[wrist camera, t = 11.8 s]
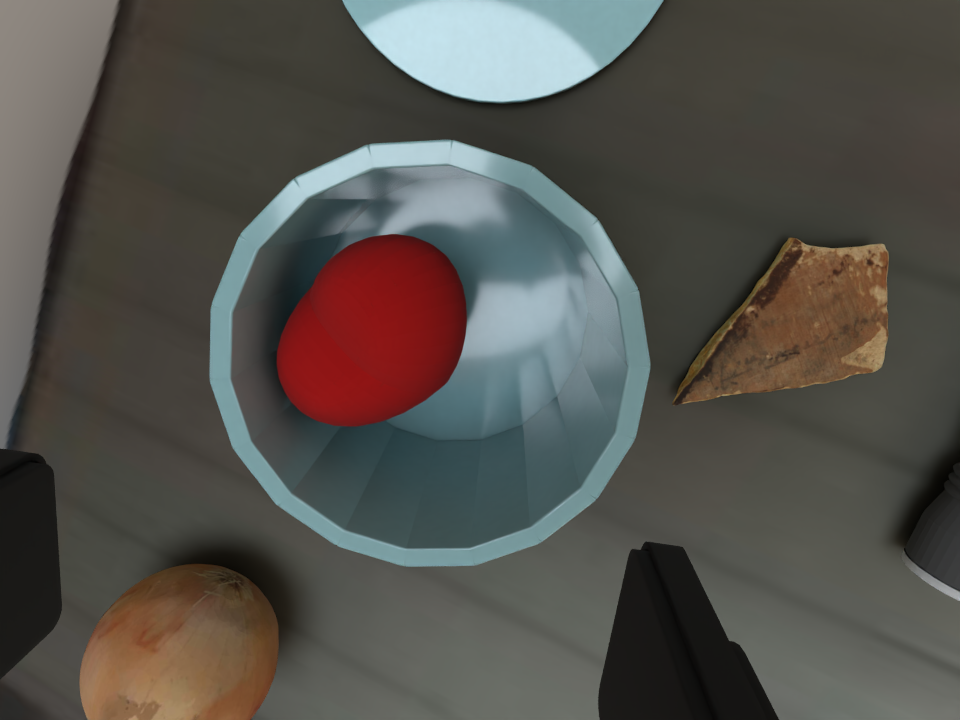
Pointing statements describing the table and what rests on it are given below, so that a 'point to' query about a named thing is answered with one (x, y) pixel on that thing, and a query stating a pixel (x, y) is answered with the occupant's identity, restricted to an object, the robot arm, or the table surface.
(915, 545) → the flashlight
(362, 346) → the red rounded piece
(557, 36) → the lid
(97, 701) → the onion
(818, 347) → the shard
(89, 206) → the table surface
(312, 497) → the pot
